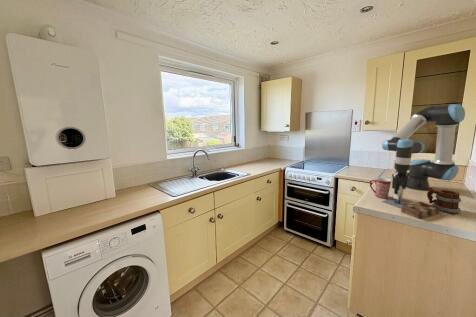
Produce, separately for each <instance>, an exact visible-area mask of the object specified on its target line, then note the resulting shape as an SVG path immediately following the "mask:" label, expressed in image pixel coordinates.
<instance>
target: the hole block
mask: <svg viewBox="0 0 476 317" xmlns="http://www.w3.org/2000/svg"><path fill="white" fill-rule="evenodd" d="M439 212H440V211H439V207H436V206H433V205H432V204H430V203H426V202H423V201H418V202H414V203H410V204H409V205H405V206H402V208H400V213H402V214H405V215H407V216H410V217H413V218H415V219H418V220H420V219H423V218H427V217H430V216H434V215H437V214H439Z"/></svg>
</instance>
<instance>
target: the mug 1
mask: <svg viewBox="0 0 476 317" xmlns="http://www.w3.org/2000/svg"><path fill="white" fill-rule="evenodd" d="M392 181H393V179H392V180H391V179H389V178H386V177H376V178H375V179H371V180H370V181H369V187H370V189H371V191H372V192H373V193H374V196H375V197H376V198H378V199H384V200H388V198H389V195H390V194H389V193H390V188H391V185H392V184H391V183H392ZM372 182H374V184H375V189H374V188H373V186H372Z"/></svg>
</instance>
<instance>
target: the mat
mask: <svg viewBox="0 0 476 317" xmlns="http://www.w3.org/2000/svg"><path fill="white" fill-rule="evenodd" d="M394 201H395V198H390V199H384V200H381V201H380V202H381V203H384V204H387V205H390V206H391V207H392V206H393V207H395V208H398V209H401V208H402V206H405V205H409V204H411V203H410V202H407V201H404V200H402V199H401V200H400V204H396V203H394Z"/></svg>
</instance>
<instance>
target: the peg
mask: <svg viewBox="0 0 476 317" xmlns="http://www.w3.org/2000/svg"><path fill="white" fill-rule="evenodd" d="M399 190H400V193H399V199H395V201H394V203H396V204H400V200H401V201H402V199H401V193H402V186H401V185H400V187H399Z"/></svg>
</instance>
